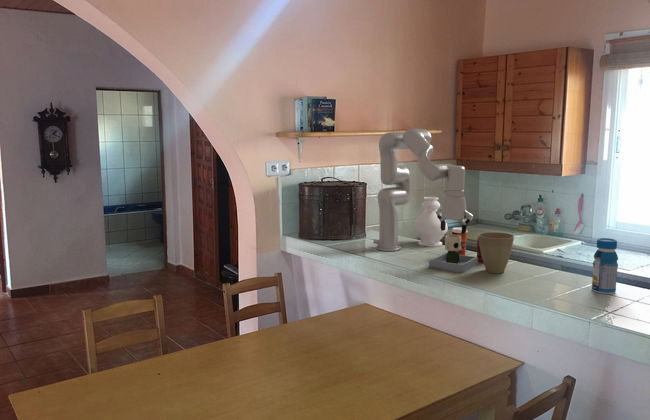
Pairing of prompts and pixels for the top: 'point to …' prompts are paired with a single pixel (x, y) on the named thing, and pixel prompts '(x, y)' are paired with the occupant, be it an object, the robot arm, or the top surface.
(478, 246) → the canned food
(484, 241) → the plant pot
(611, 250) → the beverage bottle
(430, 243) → the decorative vase
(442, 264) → the grey bin
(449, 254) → the character mug
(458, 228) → the paper cup
